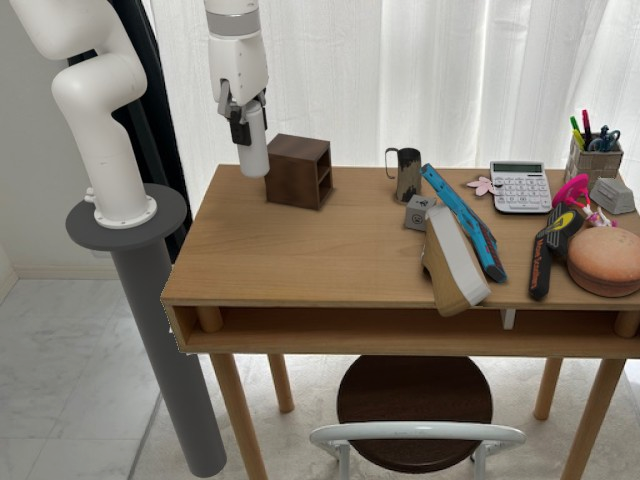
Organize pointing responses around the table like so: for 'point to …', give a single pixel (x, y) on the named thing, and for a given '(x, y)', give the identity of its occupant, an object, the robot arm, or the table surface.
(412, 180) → the mug
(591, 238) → the round sponge cake
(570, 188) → the figurine
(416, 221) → the dice cube
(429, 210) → the sneaker
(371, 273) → the table surface
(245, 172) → the beverage can
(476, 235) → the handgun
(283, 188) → the divided wooden organizer
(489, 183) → the flower
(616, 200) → the mineral specimen
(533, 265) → the decorative sign
